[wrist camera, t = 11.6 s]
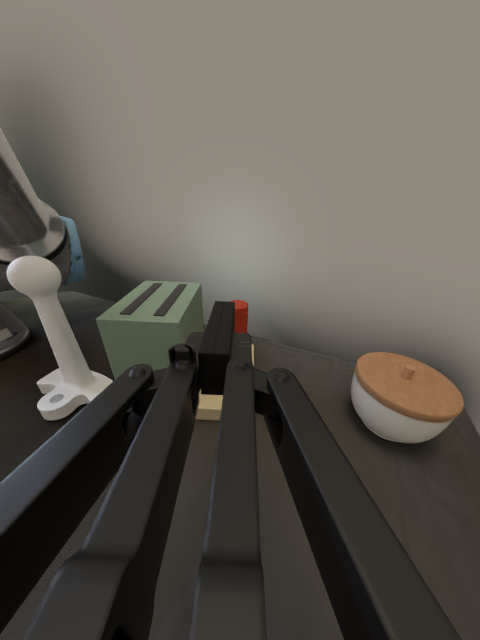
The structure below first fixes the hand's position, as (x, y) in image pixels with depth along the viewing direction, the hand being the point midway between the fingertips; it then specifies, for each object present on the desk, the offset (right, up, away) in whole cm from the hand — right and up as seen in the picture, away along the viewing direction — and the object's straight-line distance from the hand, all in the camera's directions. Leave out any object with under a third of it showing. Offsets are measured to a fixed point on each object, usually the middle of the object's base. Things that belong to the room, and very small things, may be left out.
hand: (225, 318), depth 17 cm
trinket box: (+21, -14, +13) cm, 28 cm away
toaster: (-6, -10, +19) cm, 23 cm away
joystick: (-23, -12, +15) cm, 29 cm away
